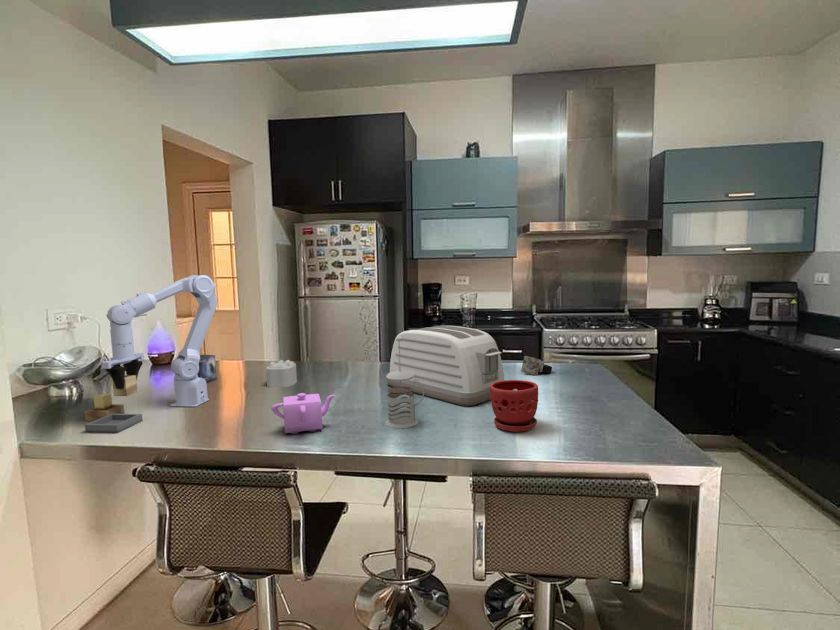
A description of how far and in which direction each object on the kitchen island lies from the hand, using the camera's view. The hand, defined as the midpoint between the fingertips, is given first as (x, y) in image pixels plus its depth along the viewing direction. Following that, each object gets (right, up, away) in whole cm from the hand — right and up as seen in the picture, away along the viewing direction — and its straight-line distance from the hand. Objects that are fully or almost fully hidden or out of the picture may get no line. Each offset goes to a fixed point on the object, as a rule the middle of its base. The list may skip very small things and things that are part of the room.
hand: (126, 386), depth 146 cm
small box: (+4, -5, +42) cm, 43 cm away
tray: (+2, -10, -9) cm, 14 cm away
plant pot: (+118, -9, -17) cm, 120 cm away
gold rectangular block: (-7, -10, 0) cm, 12 cm away
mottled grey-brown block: (+140, -2, +44) cm, 147 cm away
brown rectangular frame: (-7, -10, 0) cm, 12 cm away
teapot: (+60, -10, -15) cm, 63 cm away
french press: (+88, -9, -11) cm, 89 cm away
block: (0, -3, 0) cm, 3 cm away
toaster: (+102, -5, +22) cm, 104 cm away
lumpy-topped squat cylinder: (+38, -5, +38) cm, 54 cm away
